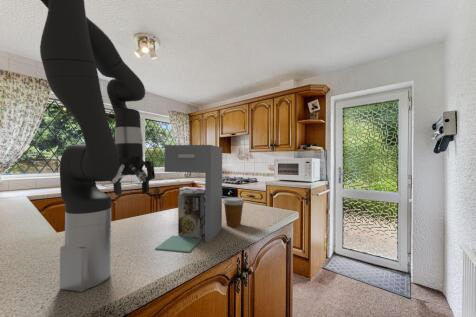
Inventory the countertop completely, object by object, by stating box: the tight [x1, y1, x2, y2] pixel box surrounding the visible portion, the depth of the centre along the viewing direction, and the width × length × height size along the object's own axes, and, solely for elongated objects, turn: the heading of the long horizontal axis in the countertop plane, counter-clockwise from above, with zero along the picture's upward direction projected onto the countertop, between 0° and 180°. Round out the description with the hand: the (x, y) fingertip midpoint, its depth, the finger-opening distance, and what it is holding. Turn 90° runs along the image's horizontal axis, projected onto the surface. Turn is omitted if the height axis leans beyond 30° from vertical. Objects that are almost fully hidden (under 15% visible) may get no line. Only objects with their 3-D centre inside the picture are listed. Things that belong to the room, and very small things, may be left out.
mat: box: [154, 235, 203, 253], centre depth 74 cm, size 12×12×1 cm
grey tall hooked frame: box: [164, 144, 223, 244], centre depth 84 cm, size 17×18×35 cm
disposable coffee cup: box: [222, 196, 245, 228], centre depth 96 cm, size 10×10×12 cm
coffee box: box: [177, 193, 205, 238], centre depth 84 cm, size 9×6×16 cm
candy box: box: [178, 186, 205, 226], centre depth 100 cm, size 14×6×16 cm, turn 73°
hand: (131, 194), depth 66 cm, fingers open, 8 cm apart
